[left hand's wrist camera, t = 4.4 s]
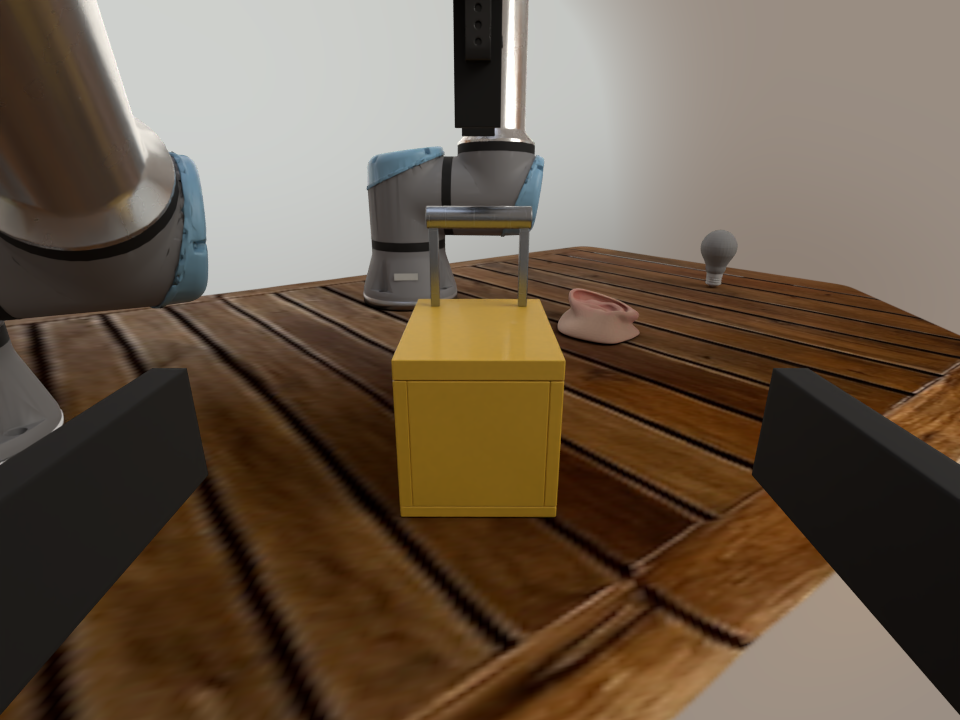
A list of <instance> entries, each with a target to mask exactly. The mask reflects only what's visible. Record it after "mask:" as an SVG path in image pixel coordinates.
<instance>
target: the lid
mask: <svg viewBox="0 0 960 720" xmlns="http://www.w3.org/2000/svg"><path fill="white" fill-rule="evenodd" d="M426 227H427V229H429V259H430V292H431V299H418V301H417V304H416V306H415V308H414V310H413V313H412V315H411V317H410V320H409V322H408V324H407V326H406V329H405V331H404V333H403V335H402V338H401V340H400V342H399V345H398V347H397V349H396V351H395V354H394V356H393V358H392V361H391V363H392V379H393V380H564V377H565V359H564V356H563V354H562V352H561V349H560V347H559V345H558V342H557V340H556V337H555V335H554V333H553V330H552V328H551V326H550V323H549V321H548V319H547V316H546V314H545V311H544V309H543V307H542V304H541V302H540V300H539V299H527V286H528V256H529V229H531V227H532V207H531V206H426ZM438 229H520V234H519V270H518V299H440V274H439V232H438Z"/></svg>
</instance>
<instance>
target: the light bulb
mask: <svg viewBox="0 0 960 720" xmlns="http://www.w3.org/2000/svg"><path fill="white" fill-rule="evenodd" d="M737 247H738V246H737V241H736V239H735V237H734V236H733V235H732V234H731V233H730V232H728V231H725V230H716V231H713V232H711V233H709V234H708V235H707V236H706V237H705V238H704V240H703V241H702V244H701V253H702V256H703V258H704V261H705V263H706V271H707V277H706V278H707V279H706V280H707V281H706V282H705V283H706V284H708V285H709V286H718V285H720V284H721V283H720V282H721V280H722V279H721V277H722V275H723V273H724V271H725V269H726V266H727V264H728V263H729V262H730V260H731V259H732V258H733V257H734V255H735V254H736V251H737Z"/></svg>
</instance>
